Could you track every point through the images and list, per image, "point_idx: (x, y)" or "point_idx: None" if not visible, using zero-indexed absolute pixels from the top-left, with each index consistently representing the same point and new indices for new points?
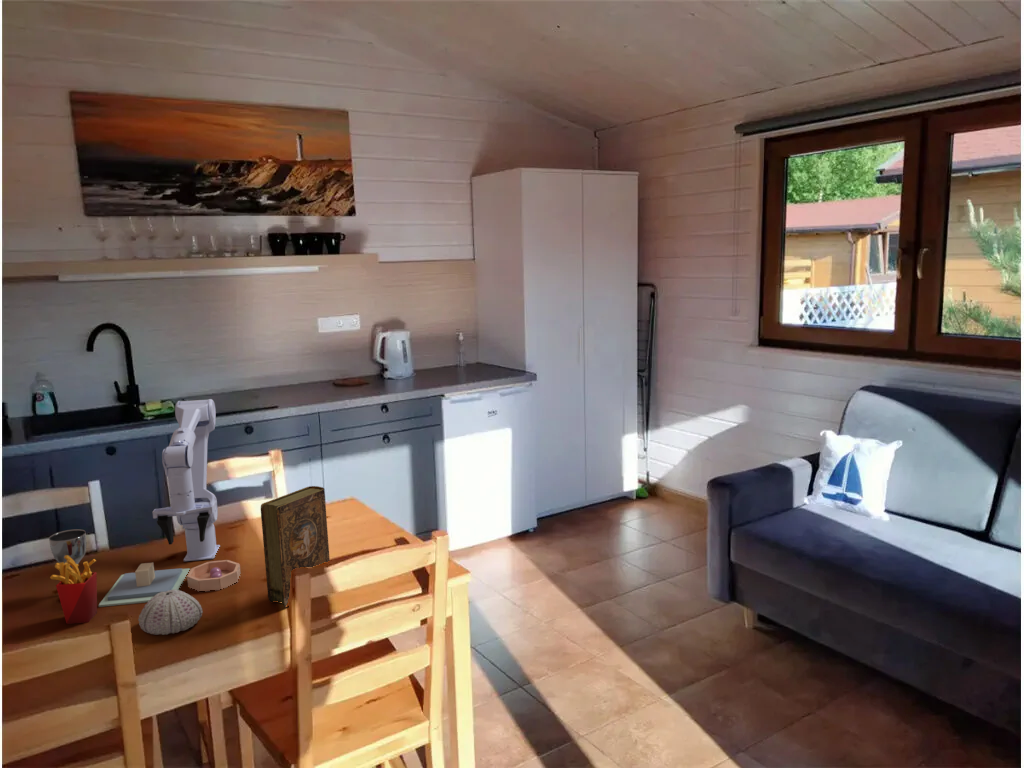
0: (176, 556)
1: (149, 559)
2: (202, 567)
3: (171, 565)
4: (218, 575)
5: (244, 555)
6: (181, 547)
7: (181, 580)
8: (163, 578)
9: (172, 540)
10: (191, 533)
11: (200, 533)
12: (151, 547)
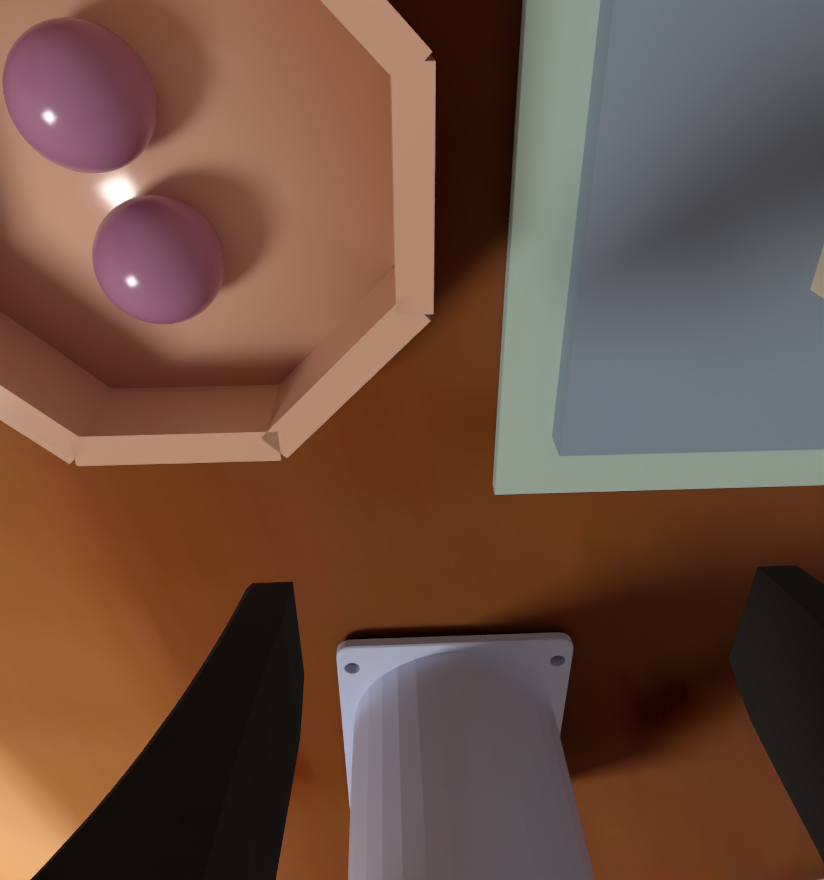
0: (633, 717)
1: None
2: (325, 364)
3: (657, 592)
4: (19, 58)
5: (107, 661)
6: (614, 820)
7: (527, 222)
8: (723, 235)
9: (758, 650)
10: (531, 876)
11: (232, 693)
12: (800, 840)
